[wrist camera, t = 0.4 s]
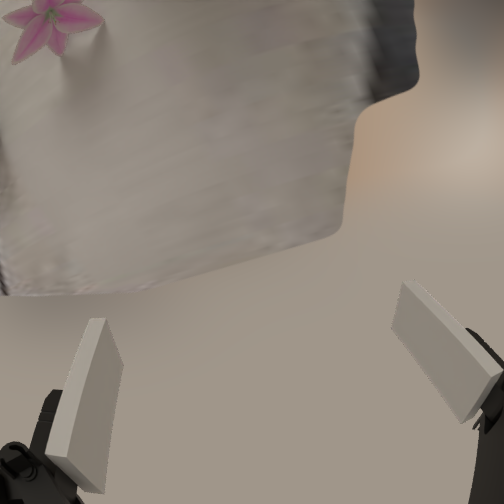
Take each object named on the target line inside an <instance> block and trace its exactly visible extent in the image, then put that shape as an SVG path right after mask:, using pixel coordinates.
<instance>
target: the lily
mask: <svg viewBox="0 0 504 504" xmlns="http://www.w3.org/2000/svg"><path fill="white" fill-rule="evenodd" d="M82 2H83V0H33V1H32V5H30V6H26V7H23V8H20V9H18V10H15V11H13V12H11V13H8V14H7V15H5V16H3V17H2V19H3V20H4V21H5V22H7V23H9V24H11V25H13V26H15V27H18V28H21V29H24V30H23V32H22V34H21V36H20V39H19V41H18V44H17V46H16V49H15V52H14V55H13V58H12V65H16V64H18V63H20V62H22V61H24V60H25V59H27V58H28V57H30V56H32V55H33V54H35V53H36V52H37V51H39V50H40V49H41V48H42V47H43V46H45V45H47V46H48V48H49V49H50V50H51V51H52V52H53V53H55V54H56V55H57V56H59V57H61V56H62V55H63V54H64V51H65V48H66V44H67V40H68V34H71V33H78V32H82V31H85V30H89V29H92V28H95V27H98V26H100V25H102V24H103V23H104V22H105V20H104V19H103V18H102V17H101V16H100V15H99V14H97V13H96V12H94V11H93V10H91V9H90V8H88V7H87V6H84V5H82V4H81V3H82Z"/></svg>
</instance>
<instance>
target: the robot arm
mask: <svg viewBox="0 0 504 504" xmlns="http://www.w3.org/2000/svg"><path fill="white" fill-rule="evenodd" d="M391 329H392V330H393V332H394V333H395V334H396V336H397V337H398V338H399V339H400V341H401V342H402V343H403V345H404V346H405V347H406V348H407V350H408V351H409V353H410V354H411V355H412V356H413V358H414V359H415V361H416V362H417V363H418V365H419V366H420V367H421V368H422V370H423V371H424V373H425V374H426V375H427V377H428V378H429V379H430V381H431V382H432V384H433V385H434V386H435V388H436V389H437V391H438V392H439V393H440V395H441V396H442V398H443V399H444V400H445V402H446V403H447V405H448V406H449V407H450V409H451V410H452V412H453V413H454V415H455V416H456V418H457V419H458V421H459V422H460V424H462V423H464V422H466V421H467V420H469V419H471V418H473V417H474V416H475V414H476V413H477V411H478V410H479V409H480V408H481V409H482V411H483V413H482V414H481V416H480V417H479V419H478V420H477V422H476V423H475V424H474V426H473V429H475V428H476V427H477V426H478V424H479V423H480V427H479V428H478V430H479V440H478V449H477V457H476V465H475V471H474V477H473V483H472V488H471V493H470V498H469V503H468V504H504V361H503V360H502V359H501V358H500V357H499V356H498V355H497V354H496V353H495V352H494V351H493V349H492V348H490V347H489V345H488V344H487V343H485V342H484V340H483V339H482V338H481V337H480V336H479V335H478V334H477V333H475V332H474V331H472V330H470V329H469V328H464V327H463V326H462V325H461V324H460V323H459V322H458V321H457V320H456V319H455V318H454V317H453V316H452V315H451V314H450V313H449V312H448V311H447V310H446V309H445V308H444V307H443V306H442V305H441V304H439V303H438V301H436V299H434V298H433V297H432V296H431V295H430V294H429V293H428V292H427V291H426V290H425V289H424V288H423V287H422V286H421V285H420V284H418V283H417V282H416V281H415V280H411V281H406V282H402V285H401V289H400V294H399V298H398V303H397V307H396V311H395V315H394V319H393V323H392V327H391ZM123 366H124V365H123V362H122V360H121V357H120V355H119V352H118V349H117V347H116V344H115V341H114V339H113V336H112V333H111V330H110V328H109V325H108V322H107V319H106V318H94V319H90V320H89V322H88V325H87V327H86V330H85V332H84V335H83V337H82V340H81V342H80V345H79V348H78V350H77V353H76V356H75V358H74V361H73V363H72V366H71V369H70V372H69V375H68V377H67V380H66V384H65V386H64V389H63V390H52V391H51V393H50V394H49V395H48V396H47V397H46V399H45V401H44V404H43V407H42V410H41V411H42V412H41V413H40V415H39V418H38V420H39V421H38V422H37V425H36V428H35V431H34V434H33V438H32V441H31V444H30V448H29V449H28V448H27V447H26V446H25V445H24V444H22V443H20V442H10V443H7V444H6V445H5V446H3V447H2V449H1V450H0V504H84V503H83V501H82V500H81V498H80V497H79V496H78V495H77V494H76V493H77V486H79V487H80V488H81V489H82V490H84V492H91V493H98V494H104V493H105V482H106V473H107V464H108V455H109V447H110V440H111V433H112V426H113V420H114V414H115V408H116V402H117V397H118V391H119V386H120V381H121V375H122V370H123Z"/></svg>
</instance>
